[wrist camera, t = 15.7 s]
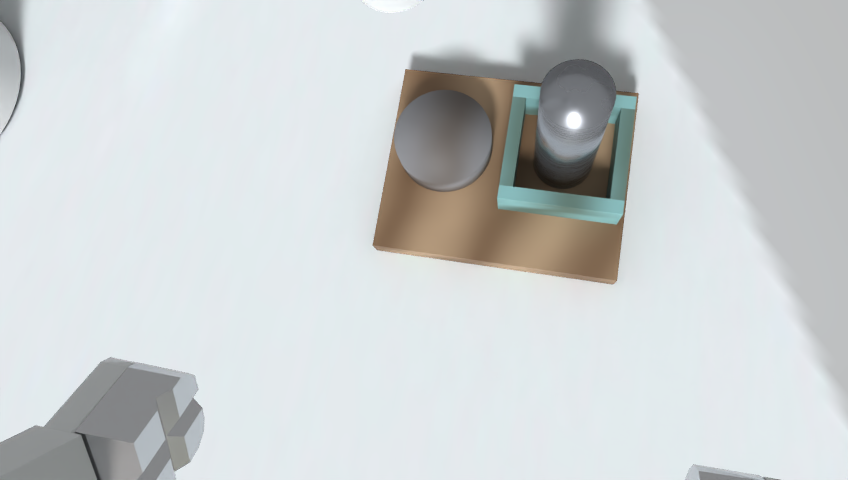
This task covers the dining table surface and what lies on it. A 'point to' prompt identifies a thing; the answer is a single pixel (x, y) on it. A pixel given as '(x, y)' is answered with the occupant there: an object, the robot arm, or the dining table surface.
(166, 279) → the dining table surface
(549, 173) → the pin
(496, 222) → the nut block
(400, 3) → the mug
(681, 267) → the dining table surface
